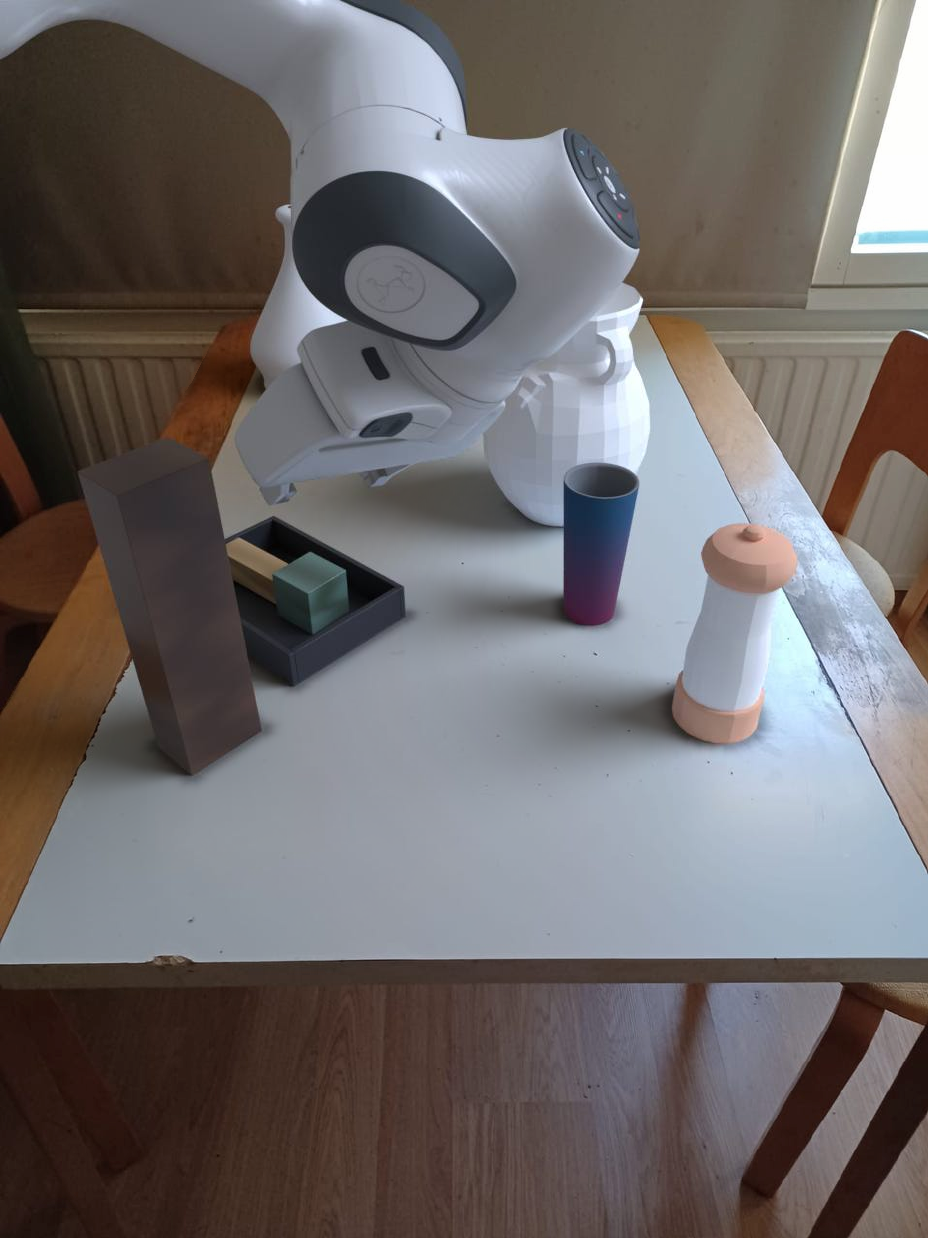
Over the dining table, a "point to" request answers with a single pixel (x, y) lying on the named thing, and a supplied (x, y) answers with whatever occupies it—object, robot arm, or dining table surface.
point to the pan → (306, 654)
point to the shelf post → (175, 597)
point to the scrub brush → (292, 584)
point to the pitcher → (572, 413)
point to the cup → (596, 538)
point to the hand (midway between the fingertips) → (322, 486)
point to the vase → (286, 315)
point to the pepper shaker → (732, 633)
